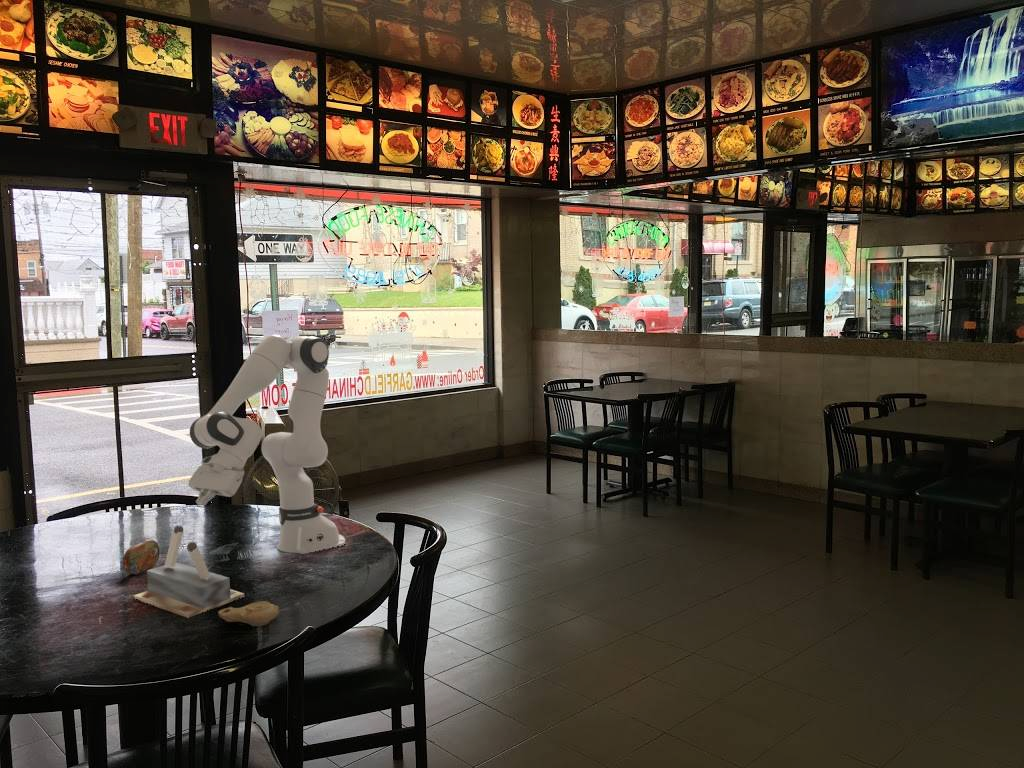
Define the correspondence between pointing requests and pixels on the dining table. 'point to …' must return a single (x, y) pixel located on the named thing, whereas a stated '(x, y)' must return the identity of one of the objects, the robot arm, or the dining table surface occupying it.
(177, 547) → the lever
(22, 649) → the dining table surface
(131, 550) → the tin
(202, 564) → the lever
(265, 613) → the oil lamp
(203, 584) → the switch box
